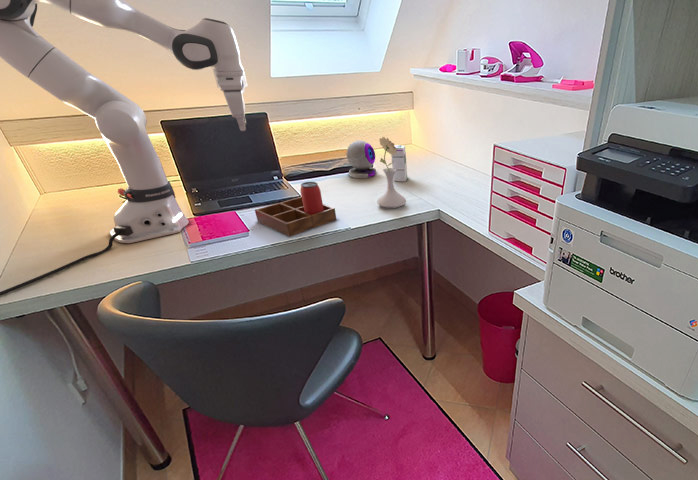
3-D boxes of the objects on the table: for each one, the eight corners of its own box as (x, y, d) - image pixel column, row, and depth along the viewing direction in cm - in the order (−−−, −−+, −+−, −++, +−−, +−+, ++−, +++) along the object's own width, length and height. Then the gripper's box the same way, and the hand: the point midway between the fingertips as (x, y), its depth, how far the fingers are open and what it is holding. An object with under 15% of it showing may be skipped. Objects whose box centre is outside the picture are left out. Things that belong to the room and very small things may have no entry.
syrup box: (405, 181, 193) (404, 148, 184) (393, 181, 193) (390, 147, 184) (407, 177, 197) (405, 145, 189) (394, 177, 197) (392, 144, 189)
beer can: (319, 221, 149) (313, 187, 142) (302, 219, 150) (295, 186, 143) (328, 215, 154) (322, 182, 147) (311, 213, 155) (305, 180, 148)
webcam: (369, 179, 194) (366, 144, 186) (344, 176, 196) (339, 142, 188) (380, 171, 205) (377, 138, 196) (356, 169, 207) (352, 136, 198)
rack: (289, 236, 141) (286, 224, 138) (257, 222, 150) (254, 209, 148) (336, 220, 153) (334, 208, 151) (304, 207, 163) (302, 196, 160)
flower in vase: (411, 207, 165) (407, 140, 151) (383, 212, 161) (377, 143, 146) (398, 197, 175) (394, 133, 160) (372, 201, 170) (365, 135, 156)
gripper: (222, 77, 141) (234, 122, 149) (218, 84, 126) (232, 134, 134) (242, 77, 144) (253, 121, 151) (241, 84, 128) (253, 133, 136)
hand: (243, 127), depth 143 cm, fingers open, 8 cm apart
